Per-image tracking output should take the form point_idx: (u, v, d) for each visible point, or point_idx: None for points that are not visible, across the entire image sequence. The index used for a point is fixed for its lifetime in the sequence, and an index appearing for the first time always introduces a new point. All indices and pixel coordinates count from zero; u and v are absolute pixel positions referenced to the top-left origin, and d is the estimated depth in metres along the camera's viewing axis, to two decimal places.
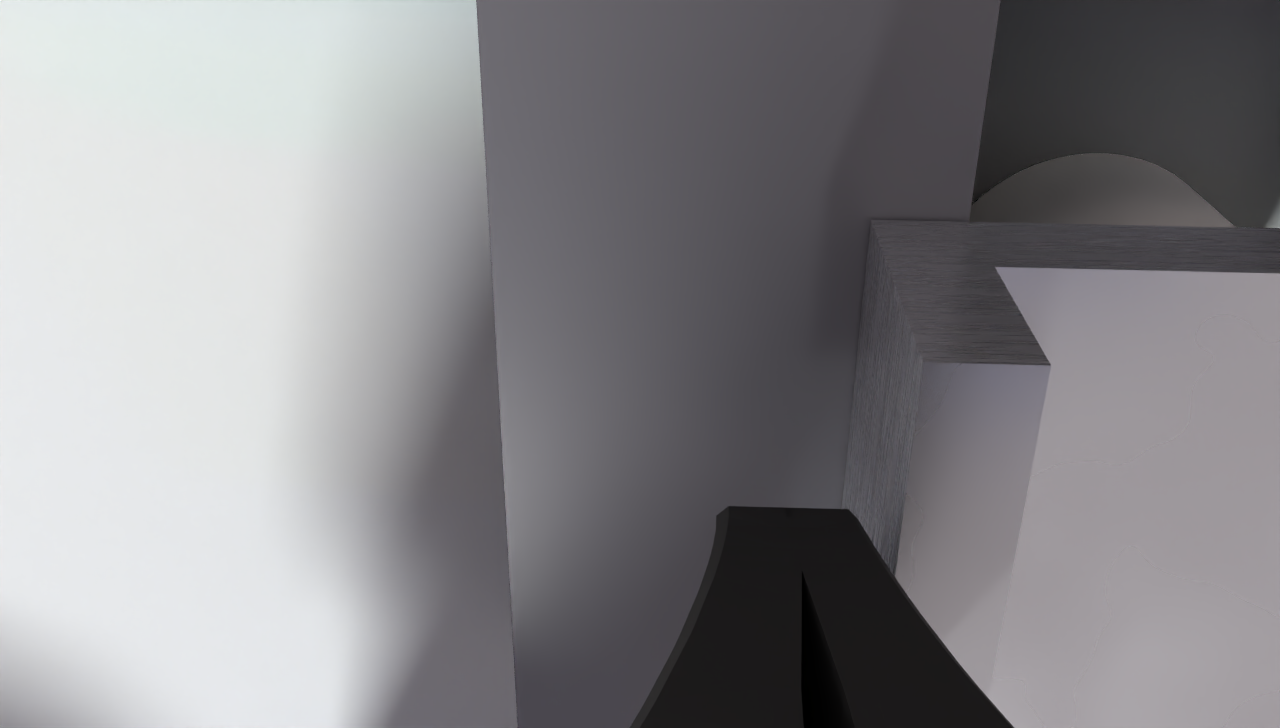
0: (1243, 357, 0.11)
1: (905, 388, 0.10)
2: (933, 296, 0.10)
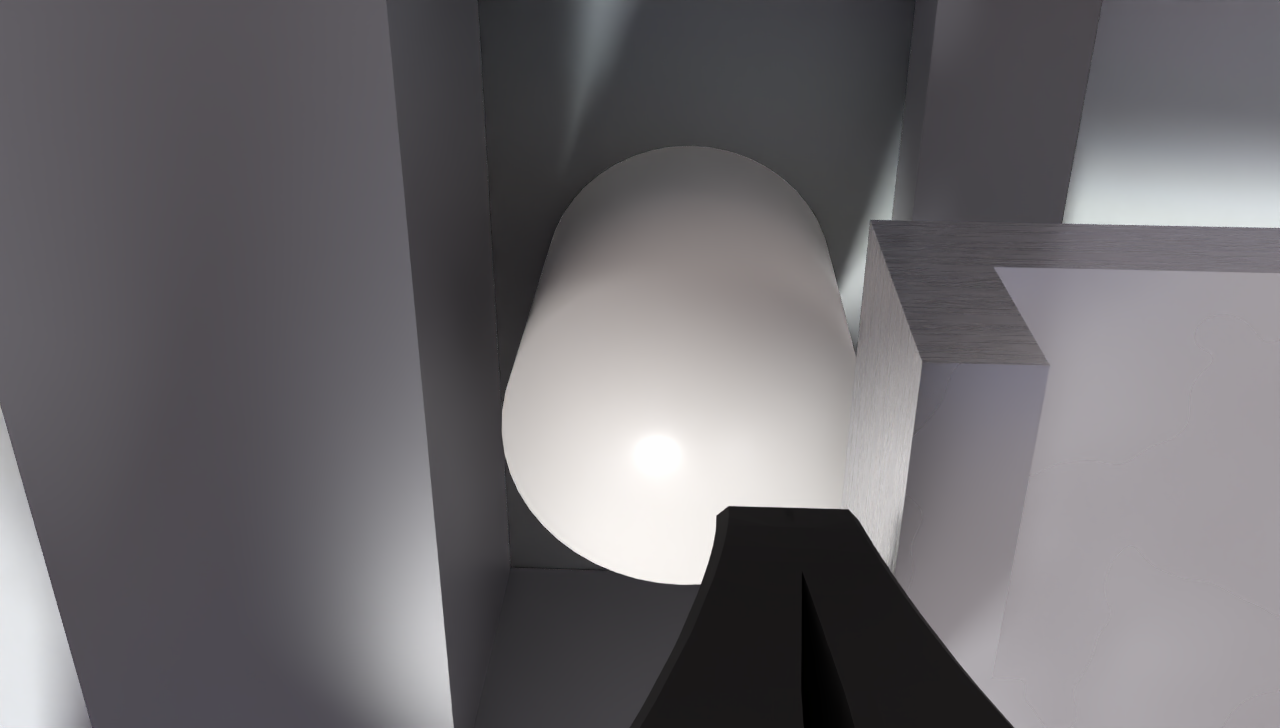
0: (1242, 356, 0.11)
1: (904, 388, 0.10)
2: (932, 296, 0.10)
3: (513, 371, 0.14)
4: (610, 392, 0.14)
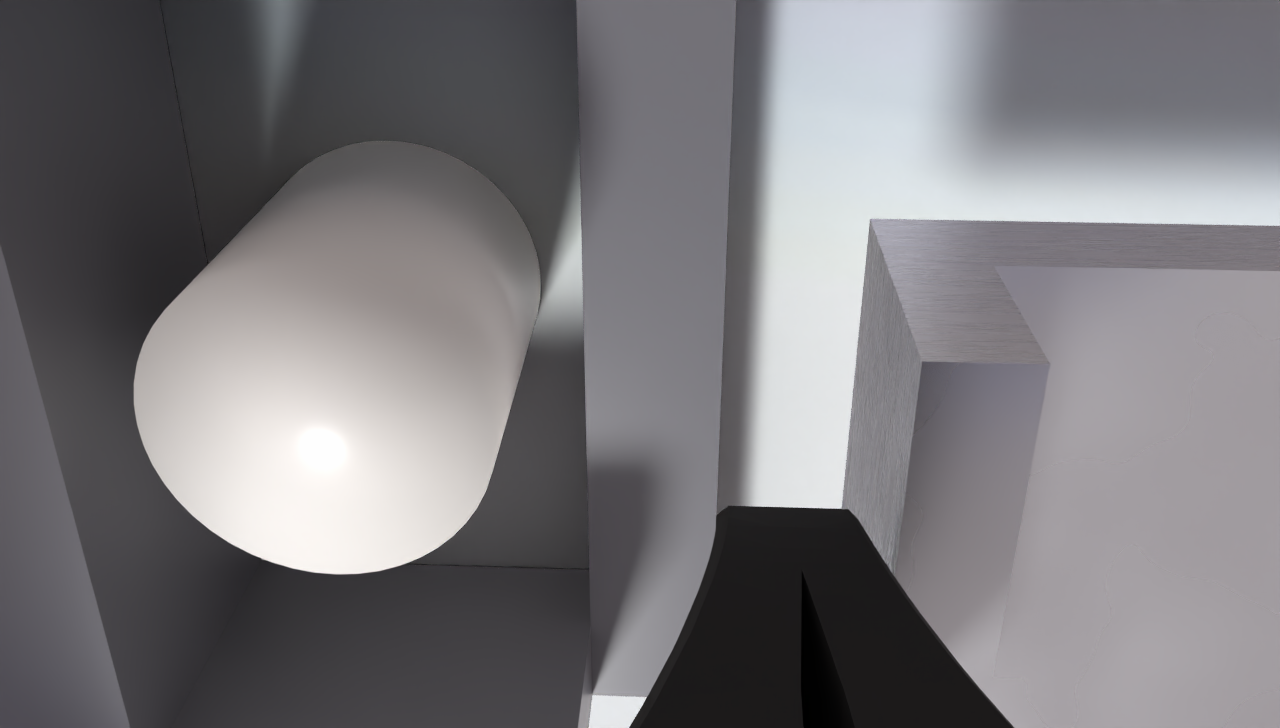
0: (1243, 355, 0.11)
1: (904, 387, 0.10)
2: (931, 295, 0.10)
3: (137, 363, 0.14)
4: (236, 384, 0.14)
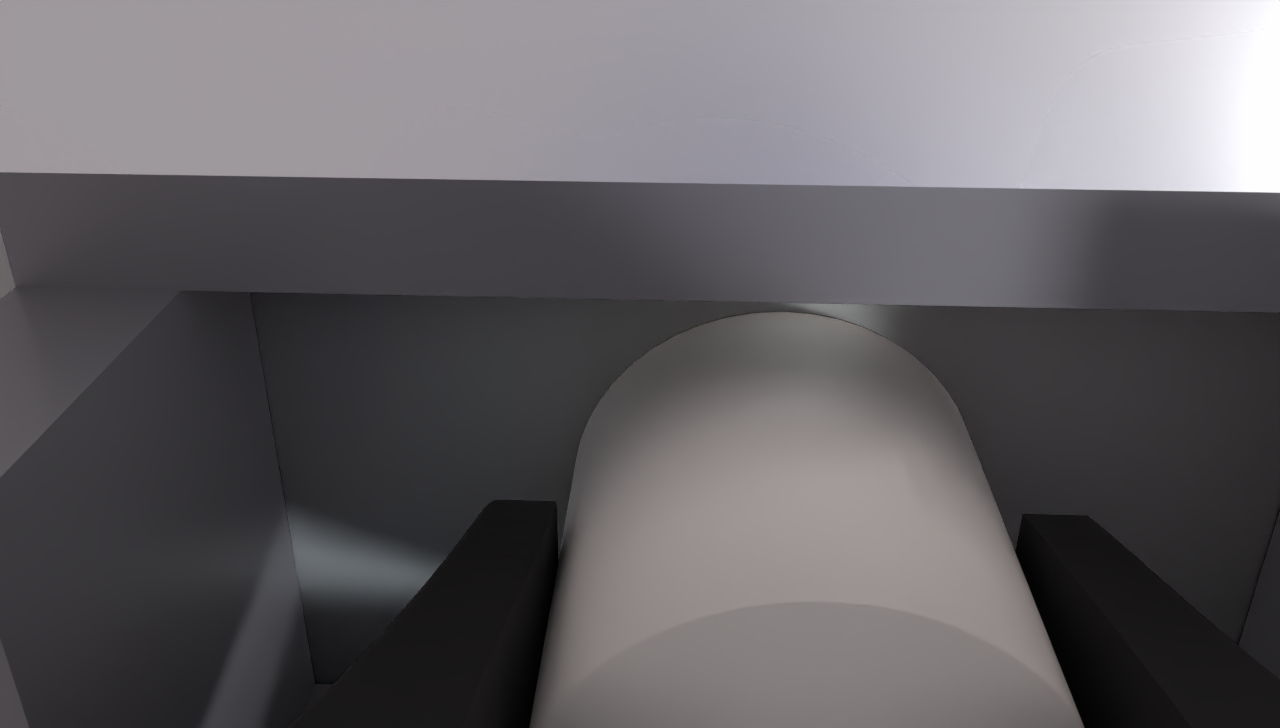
0: None
1: None
2: None
3: None
4: None
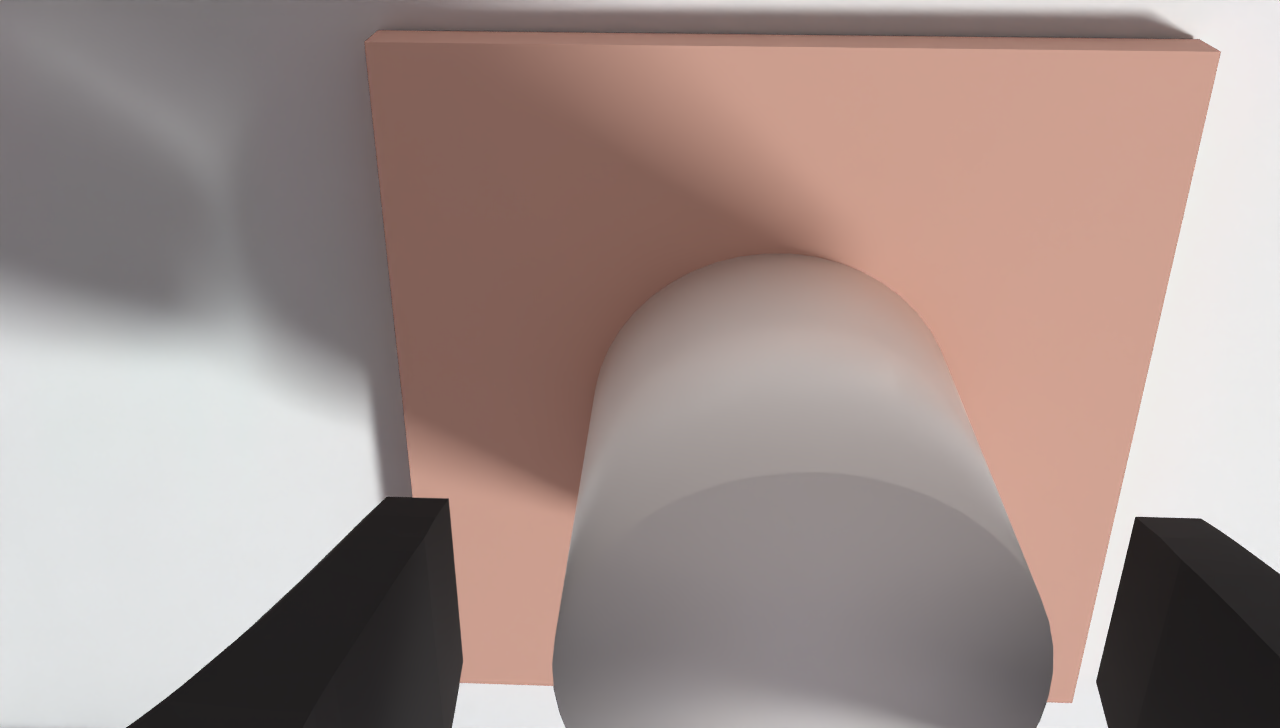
0: None
1: None
2: None
3: None
4: None
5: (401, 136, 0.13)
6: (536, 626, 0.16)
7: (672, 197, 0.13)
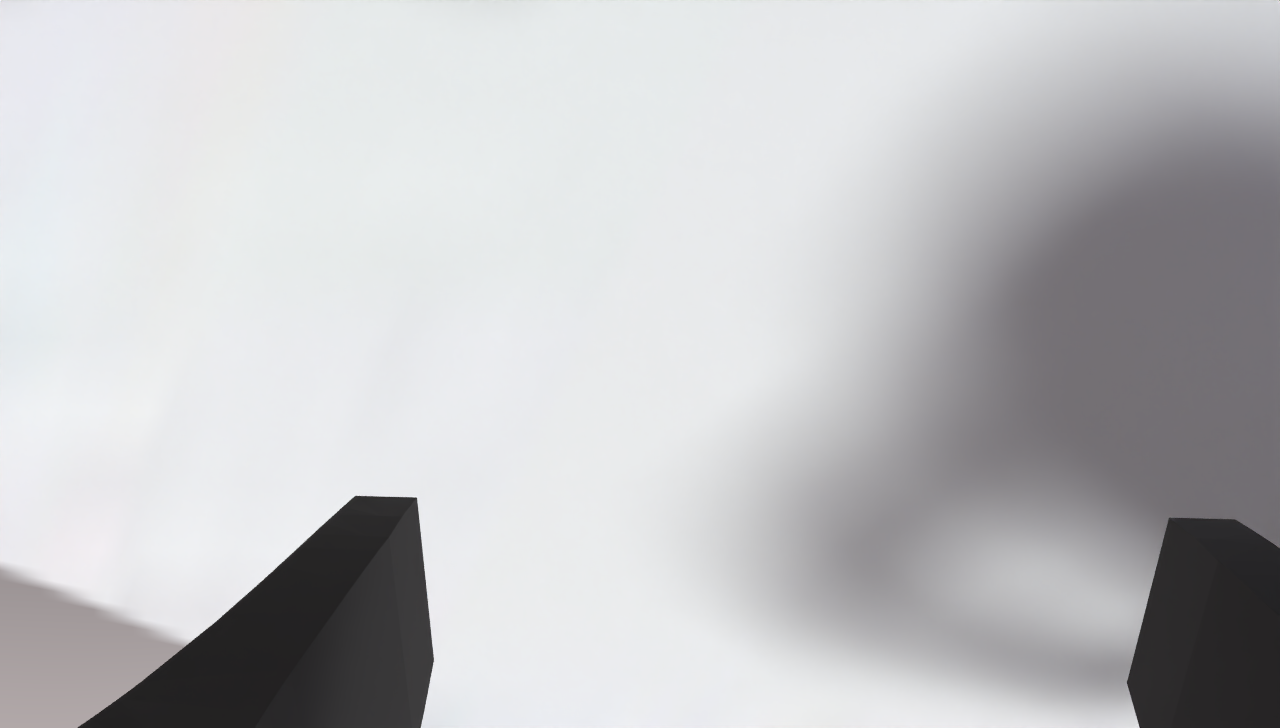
0: None
1: None
2: None
3: None
4: None
5: None
6: None
7: None
